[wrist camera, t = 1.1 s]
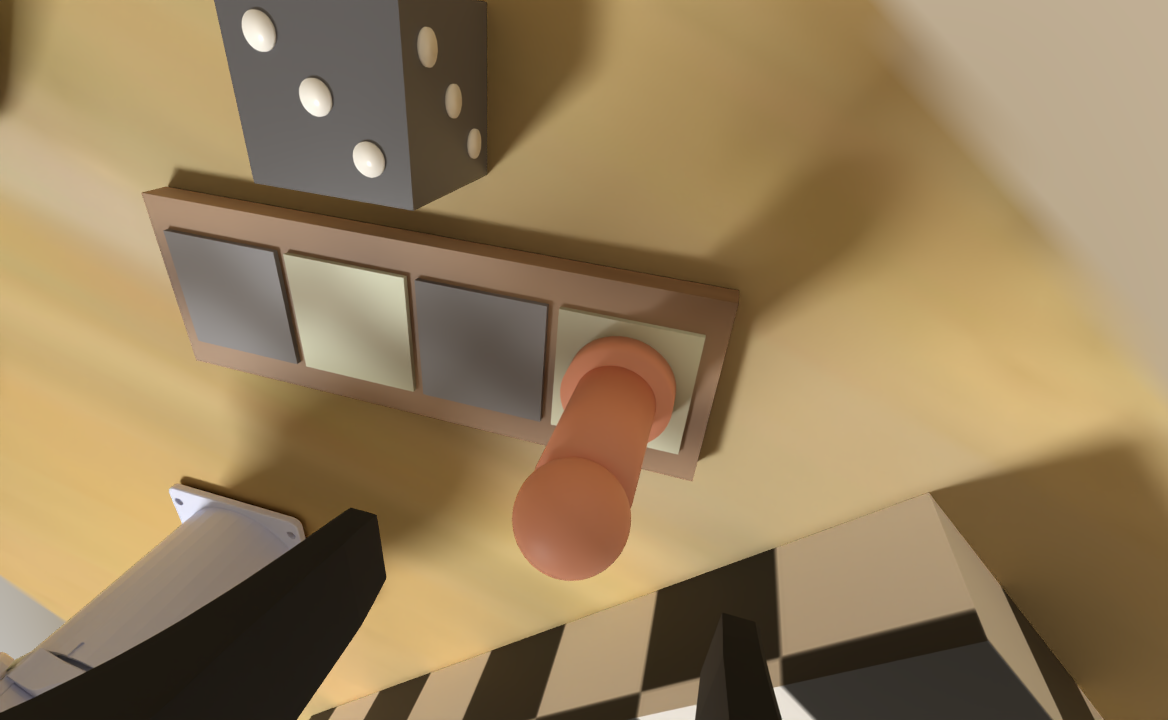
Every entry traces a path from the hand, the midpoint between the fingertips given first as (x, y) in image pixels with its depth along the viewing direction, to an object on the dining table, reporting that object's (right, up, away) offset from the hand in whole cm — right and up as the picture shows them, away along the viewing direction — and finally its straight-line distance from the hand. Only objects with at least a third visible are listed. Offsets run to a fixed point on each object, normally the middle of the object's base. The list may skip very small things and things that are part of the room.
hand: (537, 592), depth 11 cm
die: (-4, +13, +5) cm, 14 cm away
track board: (-5, +6, +9) cm, 12 cm away
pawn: (+2, +4, +7) cm, 8 cm away
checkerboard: (+11, -27, +24) cm, 38 cm away
